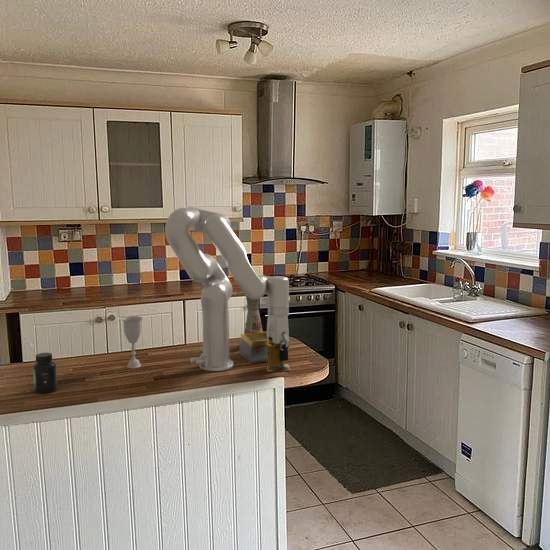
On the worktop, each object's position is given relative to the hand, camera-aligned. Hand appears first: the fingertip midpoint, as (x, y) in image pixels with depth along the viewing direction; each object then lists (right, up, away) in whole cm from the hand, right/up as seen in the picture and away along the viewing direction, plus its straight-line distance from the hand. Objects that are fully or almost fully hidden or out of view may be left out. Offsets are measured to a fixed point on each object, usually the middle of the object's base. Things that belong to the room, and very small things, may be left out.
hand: (278, 356), depth 195 cm
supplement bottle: (-75, -8, -22) cm, 79 cm away
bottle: (-10, 0, +29) cm, 30 cm away
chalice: (-53, -4, +3) cm, 53 cm away
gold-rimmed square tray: (-5, -2, +16) cm, 17 cm away
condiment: (0, -5, +1) cm, 5 cm away
